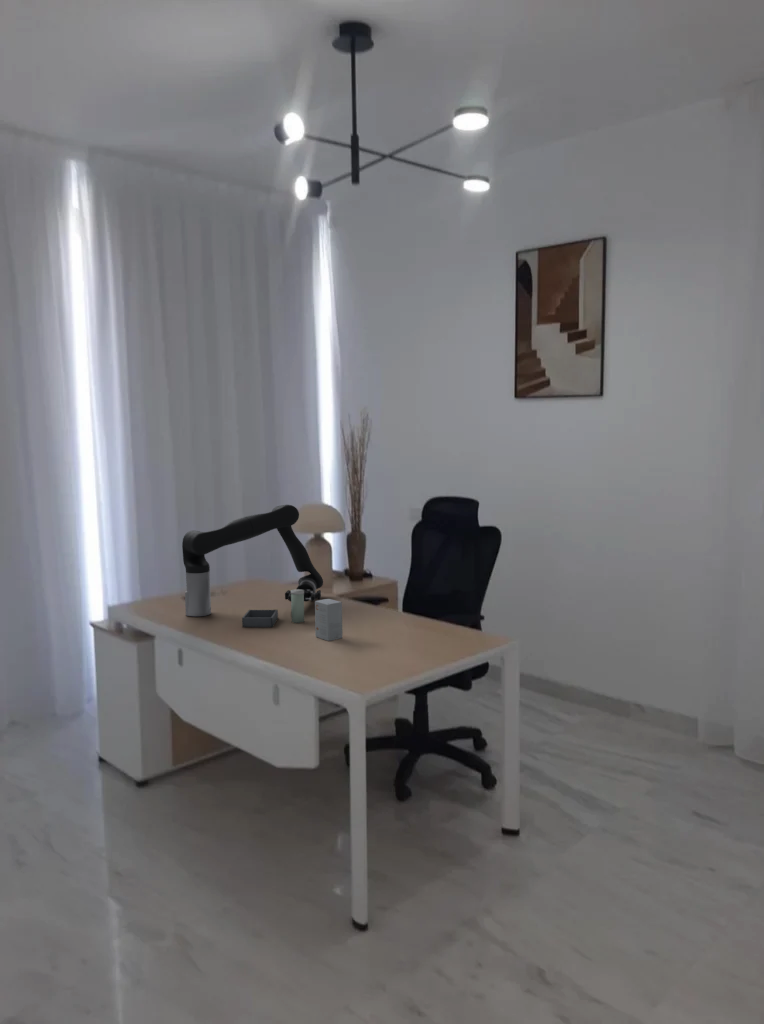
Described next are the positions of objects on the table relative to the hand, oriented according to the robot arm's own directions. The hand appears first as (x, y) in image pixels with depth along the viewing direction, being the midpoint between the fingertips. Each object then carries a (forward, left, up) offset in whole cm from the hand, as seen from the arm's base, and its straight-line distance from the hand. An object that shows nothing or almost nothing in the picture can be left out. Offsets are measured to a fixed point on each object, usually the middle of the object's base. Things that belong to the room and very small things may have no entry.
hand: (301, 598), depth 317 cm
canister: (0, -10, -7) cm, 12 cm away
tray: (-14, -12, -7) cm, 20 cm away
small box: (+14, -34, -7) cm, 37 cm away
